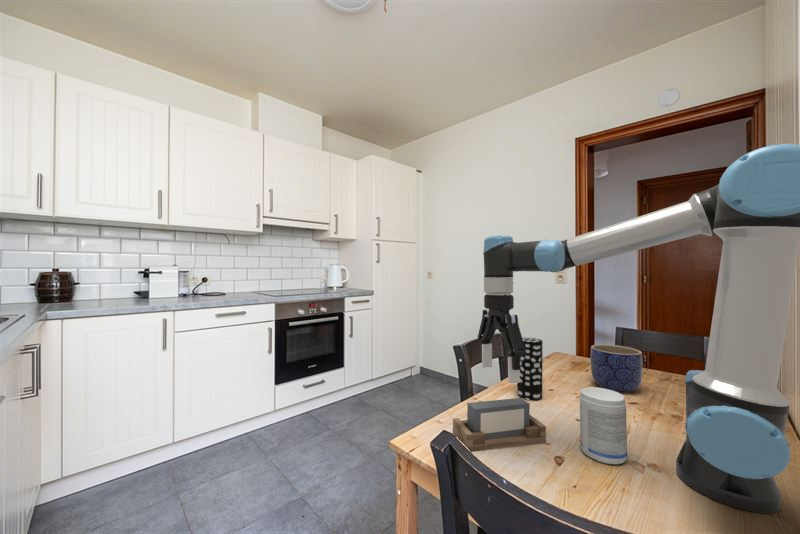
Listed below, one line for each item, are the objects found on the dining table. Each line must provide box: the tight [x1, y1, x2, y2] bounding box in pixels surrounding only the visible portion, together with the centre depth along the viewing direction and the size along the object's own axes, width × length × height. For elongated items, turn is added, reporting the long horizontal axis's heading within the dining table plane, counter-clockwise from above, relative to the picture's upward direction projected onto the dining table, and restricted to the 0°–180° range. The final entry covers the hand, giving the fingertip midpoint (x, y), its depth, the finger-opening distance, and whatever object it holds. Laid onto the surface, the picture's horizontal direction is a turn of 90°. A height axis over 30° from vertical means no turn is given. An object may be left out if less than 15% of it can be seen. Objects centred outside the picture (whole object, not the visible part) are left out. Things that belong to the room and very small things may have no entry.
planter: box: [590, 344, 643, 394], centre depth 123 cm, size 17×17×15 cm
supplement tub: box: [579, 386, 628, 465], centre depth 77 cm, size 10×10×15 cm
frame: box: [466, 397, 531, 440], centre depth 84 cm, size 4×16×8 cm, turn 104°
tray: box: [452, 414, 547, 453], centre depth 84 cm, size 9×22×4 cm, turn 103°
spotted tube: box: [516, 337, 544, 402], centre depth 114 cm, size 8×8×20 cm
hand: (499, 374), depth 84 cm, fingers open, 13 cm apart
